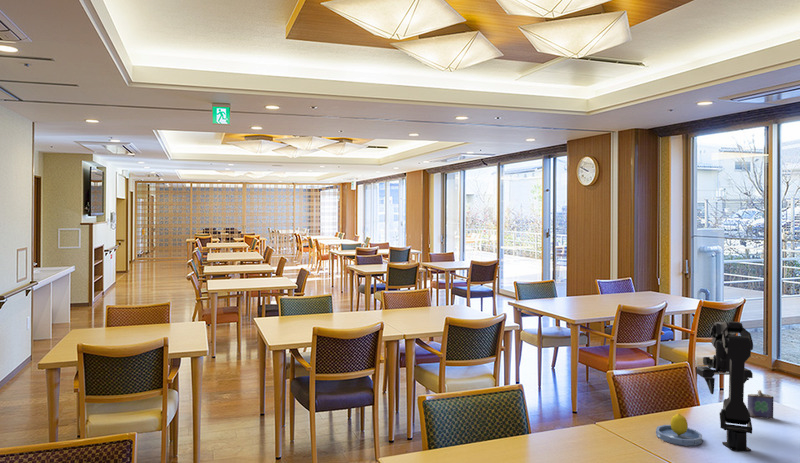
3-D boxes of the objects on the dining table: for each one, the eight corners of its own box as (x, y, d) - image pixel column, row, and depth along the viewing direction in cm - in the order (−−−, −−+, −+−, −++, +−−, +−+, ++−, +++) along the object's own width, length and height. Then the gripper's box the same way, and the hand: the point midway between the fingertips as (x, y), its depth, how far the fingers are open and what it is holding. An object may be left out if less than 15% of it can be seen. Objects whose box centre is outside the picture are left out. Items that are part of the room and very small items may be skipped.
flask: (748, 417, 215) (748, 390, 215) (745, 414, 218) (746, 388, 218) (774, 419, 213) (774, 392, 213) (771, 416, 216) (771, 390, 216)
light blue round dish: (710, 446, 185) (710, 440, 185) (667, 445, 186) (667, 439, 186) (689, 430, 200) (689, 425, 200) (649, 429, 201) (649, 424, 201)
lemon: (683, 432, 196) (683, 411, 196) (690, 438, 190) (690, 416, 190) (667, 432, 196) (668, 410, 196) (674, 438, 191) (674, 416, 191)
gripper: (736, 350, 214) (736, 388, 214) (689, 349, 214) (689, 387, 214) (753, 356, 203) (753, 397, 203) (703, 355, 203) (703, 396, 203)
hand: (724, 394), depth 206 cm, fingers open, 9 cm apart
